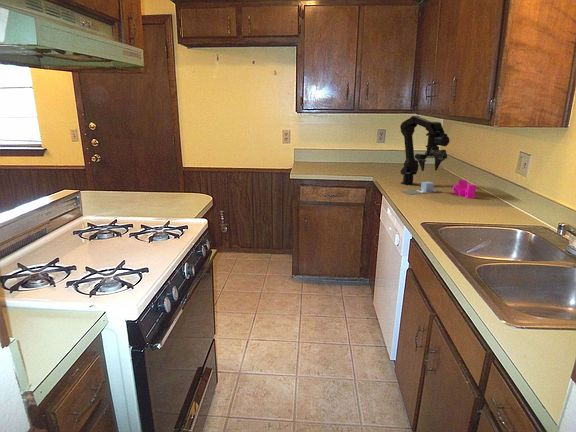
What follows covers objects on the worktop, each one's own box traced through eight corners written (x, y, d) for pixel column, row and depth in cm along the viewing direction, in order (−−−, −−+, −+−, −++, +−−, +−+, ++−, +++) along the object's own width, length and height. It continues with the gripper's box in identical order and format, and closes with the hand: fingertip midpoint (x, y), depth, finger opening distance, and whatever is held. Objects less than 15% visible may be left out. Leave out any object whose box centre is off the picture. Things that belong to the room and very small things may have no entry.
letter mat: (400, 191, 232) (400, 190, 232) (432, 188, 239) (432, 188, 239) (409, 194, 224) (409, 194, 224) (442, 192, 231) (442, 191, 231)
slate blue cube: (420, 190, 234) (421, 182, 232) (427, 189, 235) (428, 181, 234) (425, 192, 229) (426, 183, 228) (432, 191, 231) (433, 183, 229)
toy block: (452, 192, 231) (454, 179, 229) (463, 192, 231) (465, 180, 229) (462, 198, 217) (464, 185, 215) (474, 198, 217) (476, 185, 214)
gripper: (427, 146, 218) (424, 174, 222) (455, 145, 223) (451, 172, 228) (415, 143, 228) (412, 170, 232) (442, 143, 233) (439, 169, 238)
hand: (429, 170), depth 232 cm, fingers open, 9 cm apart
